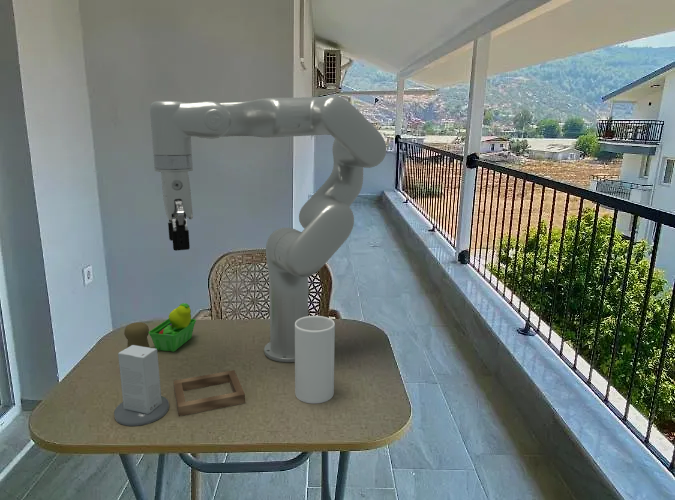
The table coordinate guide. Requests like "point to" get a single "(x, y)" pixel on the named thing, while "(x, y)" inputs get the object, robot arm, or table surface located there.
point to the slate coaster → (140, 414)
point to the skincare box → (140, 379)
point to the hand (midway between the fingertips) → (179, 244)
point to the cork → (137, 334)
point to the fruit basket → (174, 329)
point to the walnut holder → (209, 402)
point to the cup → (314, 359)
